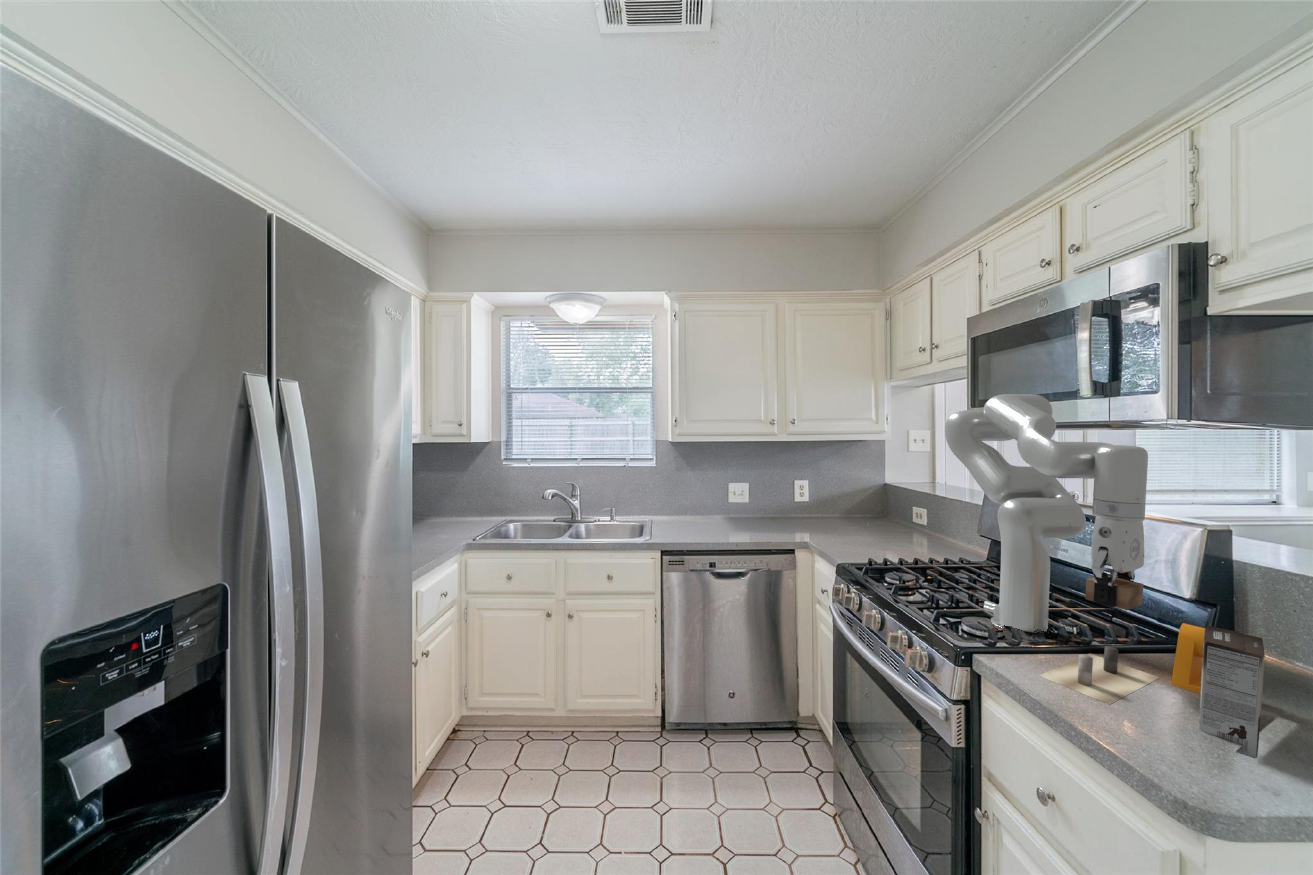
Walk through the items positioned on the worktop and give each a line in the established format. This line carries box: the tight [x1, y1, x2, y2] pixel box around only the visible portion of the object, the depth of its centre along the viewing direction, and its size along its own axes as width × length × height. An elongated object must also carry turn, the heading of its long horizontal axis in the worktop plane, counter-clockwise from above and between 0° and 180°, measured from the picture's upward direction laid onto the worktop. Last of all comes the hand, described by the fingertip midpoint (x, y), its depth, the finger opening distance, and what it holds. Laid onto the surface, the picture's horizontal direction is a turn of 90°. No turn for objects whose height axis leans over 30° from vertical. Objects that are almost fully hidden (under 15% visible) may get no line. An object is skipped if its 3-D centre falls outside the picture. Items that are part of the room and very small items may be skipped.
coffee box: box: [1198, 625, 1266, 759], centre depth 82 cm, size 9×6×16 cm
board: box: [1038, 645, 1161, 706], centre depth 98 cm, size 11×20×6 cm, turn 118°
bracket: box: [1170, 622, 1205, 695], centre depth 95 cm, size 11×7×12 cm, turn 123°
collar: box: [1084, 575, 1144, 611], centre depth 100 cm, size 6×6×4 cm
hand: (1113, 600), depth 100 cm, fingers closed on collar, 6 cm apart
